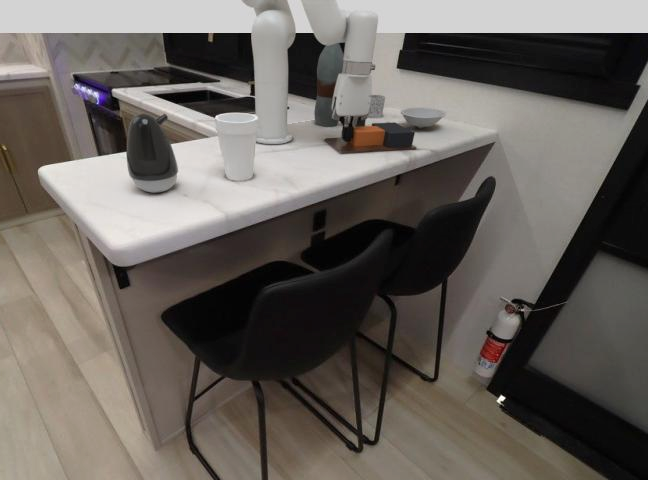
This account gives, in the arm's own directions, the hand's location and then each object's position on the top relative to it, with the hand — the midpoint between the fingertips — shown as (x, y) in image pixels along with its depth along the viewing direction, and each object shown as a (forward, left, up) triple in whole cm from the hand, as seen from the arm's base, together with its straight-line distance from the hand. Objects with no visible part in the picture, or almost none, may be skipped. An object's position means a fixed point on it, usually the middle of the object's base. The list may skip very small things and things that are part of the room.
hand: (346, 140), depth 112 cm
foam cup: (-35, -19, -2) cm, 40 cm away
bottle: (+3, +26, -2) cm, 27 cm away
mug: (+25, +36, -2) cm, 44 cm away
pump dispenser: (-54, -23, -2) cm, 59 cm away
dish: (+35, +16, -2) cm, 38 cm away
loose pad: (+6, 0, -1) cm, 6 cm away
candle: (+11, +17, -2) cm, 20 cm away
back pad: (+15, 0, -1) cm, 15 cm away
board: (+8, 0, -2) cm, 8 cm away
